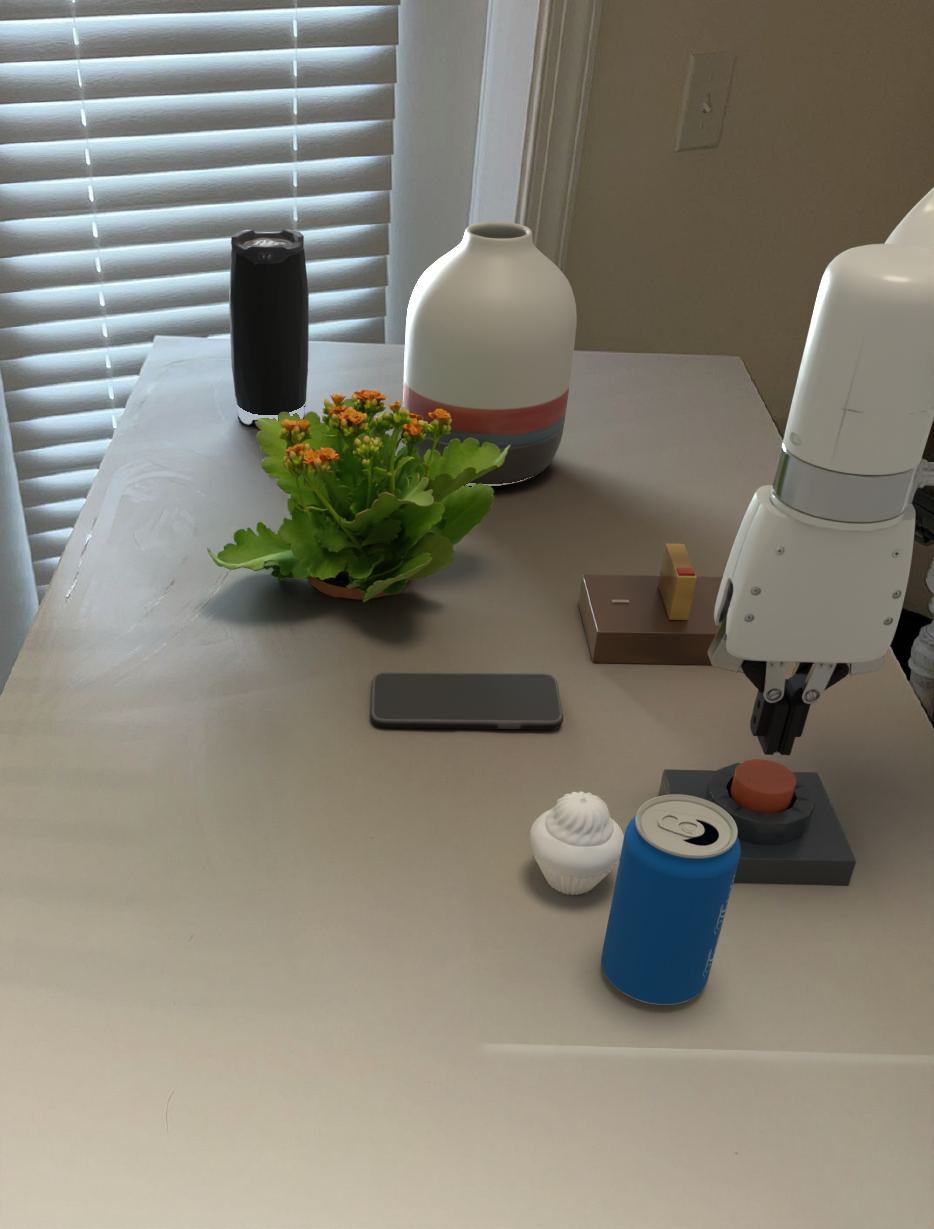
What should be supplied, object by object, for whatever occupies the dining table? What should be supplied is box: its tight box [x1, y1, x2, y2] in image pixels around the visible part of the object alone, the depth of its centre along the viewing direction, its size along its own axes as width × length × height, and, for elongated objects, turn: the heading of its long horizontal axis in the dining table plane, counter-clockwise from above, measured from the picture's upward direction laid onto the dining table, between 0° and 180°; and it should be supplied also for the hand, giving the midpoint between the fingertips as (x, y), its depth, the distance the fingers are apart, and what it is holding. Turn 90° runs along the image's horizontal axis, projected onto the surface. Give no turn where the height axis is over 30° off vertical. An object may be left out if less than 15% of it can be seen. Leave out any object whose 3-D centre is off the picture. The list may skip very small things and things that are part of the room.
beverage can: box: [600, 794, 741, 1006], centre depth 79 cm, size 6×6×12 cm
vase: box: [402, 221, 578, 484], centre depth 136 cm, size 17×17×24 cm
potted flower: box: [206, 389, 511, 603], centre depth 119 cm, size 25×24×18 cm
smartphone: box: [369, 671, 564, 730], centre depth 106 cm, size 7×1×15 cm
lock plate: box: [578, 574, 731, 666], centre depth 114 cm, size 14×10×3 cm
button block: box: [658, 762, 857, 887], centre depth 92 cm, size 11×10×4 cm
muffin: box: [529, 790, 625, 896], centre depth 88 cm, size 6×6×7 cm
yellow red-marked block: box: [658, 543, 697, 620], centre depth 112 cm, size 6×2×4 cm, turn 177°
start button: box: [730, 758, 796, 813], centre depth 91 cm, size 4×4×2 cm
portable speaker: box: [228, 229, 310, 415], centre depth 148 cm, size 9×9×20 cm
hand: (771, 742), depth 88 cm, fingers closed
